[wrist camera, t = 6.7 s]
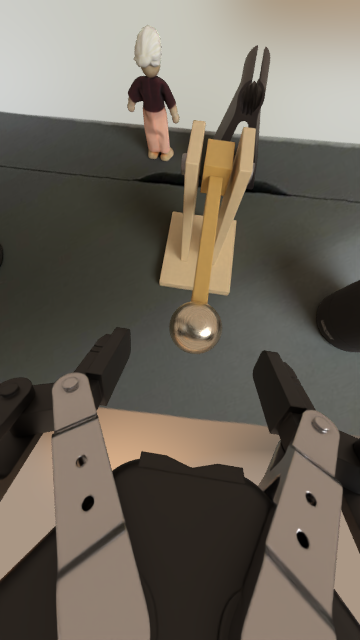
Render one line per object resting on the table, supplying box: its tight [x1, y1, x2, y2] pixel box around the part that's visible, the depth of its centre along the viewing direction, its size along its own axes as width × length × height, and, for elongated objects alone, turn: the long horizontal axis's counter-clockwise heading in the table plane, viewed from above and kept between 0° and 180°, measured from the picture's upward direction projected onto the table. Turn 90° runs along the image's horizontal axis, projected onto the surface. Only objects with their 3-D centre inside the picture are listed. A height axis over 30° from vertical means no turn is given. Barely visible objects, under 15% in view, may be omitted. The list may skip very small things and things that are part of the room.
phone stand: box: [201, 46, 270, 189], centre depth 26 cm, size 9×6×12 cm, turn 78°
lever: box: [169, 139, 235, 354], centre depth 14 cm, size 17×4×4 cm, turn 171°
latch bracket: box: [159, 120, 256, 295], centre depth 21 cm, size 12×10×15 cm
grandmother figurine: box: [127, 25, 179, 161], centre depth 27 cm, size 8×4×13 cm, turn 87°
